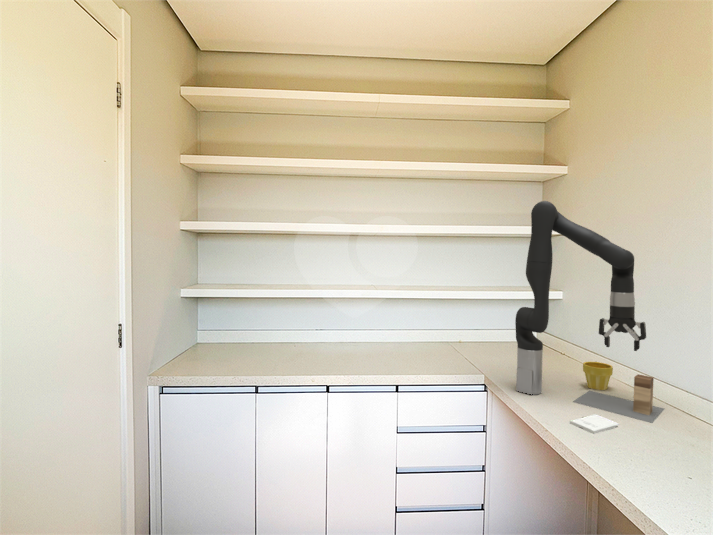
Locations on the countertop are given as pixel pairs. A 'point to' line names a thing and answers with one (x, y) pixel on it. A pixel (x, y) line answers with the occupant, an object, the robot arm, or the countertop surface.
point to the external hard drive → (594, 423)
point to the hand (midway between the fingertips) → (621, 348)
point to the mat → (616, 406)
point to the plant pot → (597, 374)
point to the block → (643, 394)
